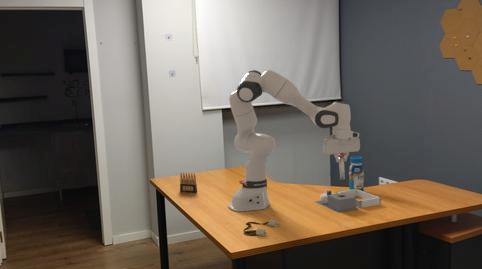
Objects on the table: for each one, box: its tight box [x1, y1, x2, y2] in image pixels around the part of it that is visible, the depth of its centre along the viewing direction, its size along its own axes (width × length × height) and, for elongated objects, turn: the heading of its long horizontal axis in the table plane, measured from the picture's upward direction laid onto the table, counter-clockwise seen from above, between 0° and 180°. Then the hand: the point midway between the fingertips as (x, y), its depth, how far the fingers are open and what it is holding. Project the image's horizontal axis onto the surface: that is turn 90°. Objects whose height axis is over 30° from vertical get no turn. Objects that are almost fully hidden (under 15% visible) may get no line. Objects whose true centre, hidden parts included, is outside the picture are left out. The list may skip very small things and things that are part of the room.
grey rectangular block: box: [315, 190, 359, 214], centre depth 240 cm, size 12×22×8 cm, turn 24°
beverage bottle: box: [348, 156, 365, 192], centre depth 270 cm, size 8×8×20 cm
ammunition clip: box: [179, 172, 198, 194], centre depth 282 cm, size 11×2×12 cm, turn 71°
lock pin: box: [338, 153, 346, 181], centre depth 233 cm, size 2×2×12 cm
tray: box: [336, 189, 382, 209], centre depth 246 cm, size 13×20×5 cm, turn 24°
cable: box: [242, 218, 280, 237], centre depth 214 cm, size 16×16×4 cm
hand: (341, 161), depth 233 cm, fingers closed on lock pin, 2 cm apart
